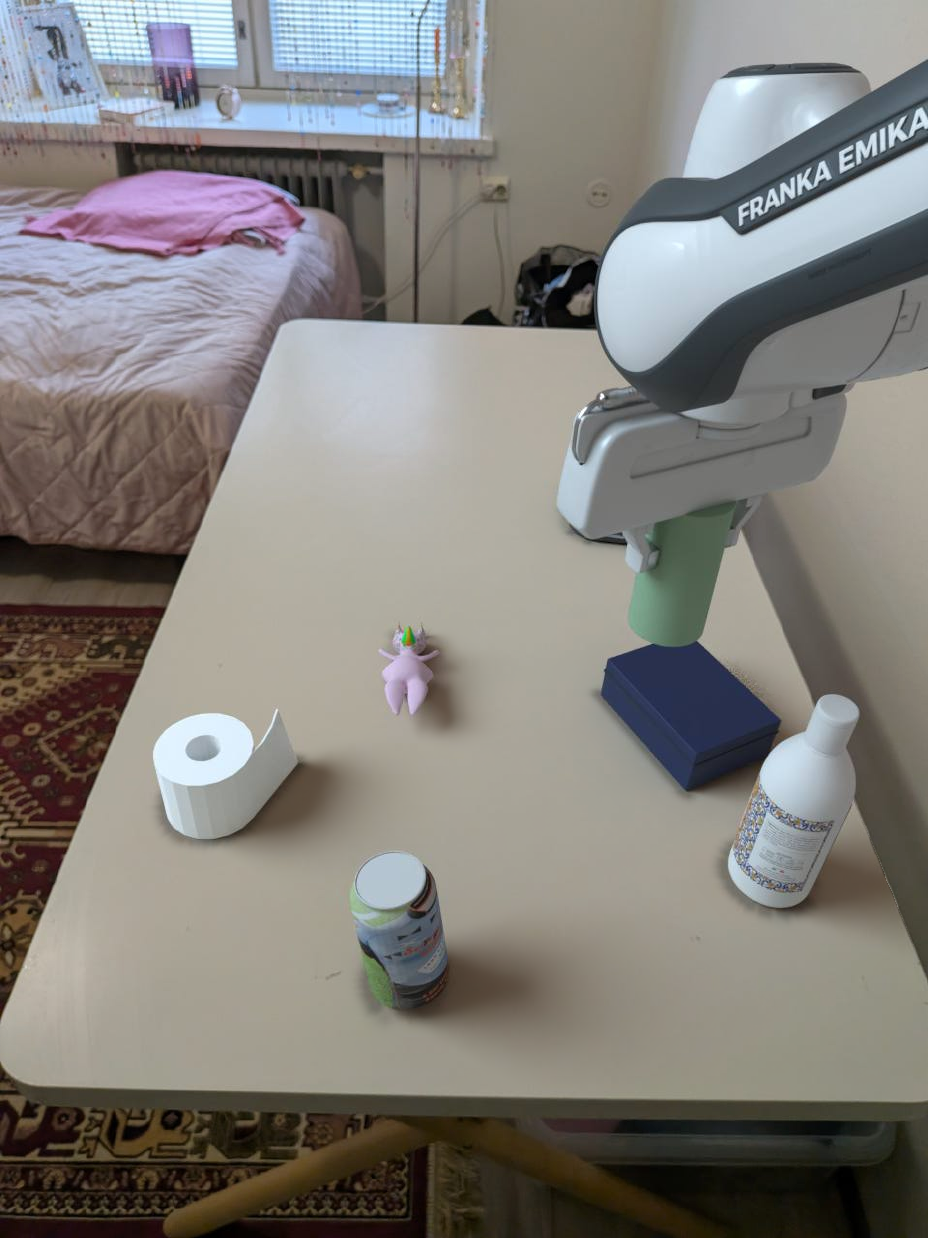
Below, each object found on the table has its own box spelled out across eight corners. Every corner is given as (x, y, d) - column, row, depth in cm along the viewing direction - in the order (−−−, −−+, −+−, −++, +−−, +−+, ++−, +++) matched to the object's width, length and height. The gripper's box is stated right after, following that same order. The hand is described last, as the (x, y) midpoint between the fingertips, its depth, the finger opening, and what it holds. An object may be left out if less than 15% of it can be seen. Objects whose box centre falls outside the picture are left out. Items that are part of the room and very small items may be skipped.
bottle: (719, 634, 68) (771, 443, 58) (657, 655, 66) (700, 460, 56) (672, 592, 72) (714, 406, 62) (612, 611, 70) (646, 421, 60)
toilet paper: (297, 763, 86) (292, 709, 81) (224, 853, 78) (214, 799, 73) (224, 733, 88) (215, 680, 84) (146, 818, 80) (131, 764, 76)
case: (772, 755, 89) (786, 719, 86) (685, 792, 85) (696, 755, 82) (681, 665, 98) (690, 629, 95) (599, 694, 94) (606, 658, 91)
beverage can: (429, 1032, 67) (432, 940, 59) (338, 994, 68) (330, 900, 61) (461, 958, 71) (469, 864, 63) (375, 924, 73) (372, 829, 65)
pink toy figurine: (381, 645, 101) (371, 728, 88) (381, 597, 98) (371, 676, 85) (438, 647, 101) (437, 730, 88) (440, 599, 98) (439, 678, 85)
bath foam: (761, 828, 82) (827, 661, 69) (826, 883, 78) (910, 716, 65) (709, 866, 79) (768, 698, 66) (774, 926, 75) (851, 758, 62)
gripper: (610, 419, 50) (580, 619, 59) (882, 361, 58) (820, 545, 66) (549, 374, 54) (530, 566, 63) (810, 326, 62) (761, 503, 71)
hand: (681, 555), depth 65 cm, fingers closed on bottle, 5 cm apart
